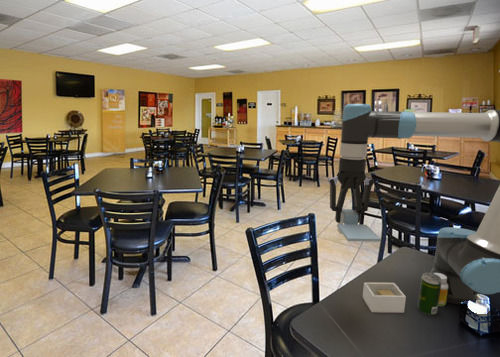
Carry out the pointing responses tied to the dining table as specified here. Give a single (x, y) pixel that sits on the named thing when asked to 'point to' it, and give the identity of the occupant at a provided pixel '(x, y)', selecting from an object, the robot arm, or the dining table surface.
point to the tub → (384, 298)
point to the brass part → (385, 292)
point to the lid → (356, 228)
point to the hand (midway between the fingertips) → (346, 232)
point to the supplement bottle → (443, 290)
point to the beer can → (429, 293)
